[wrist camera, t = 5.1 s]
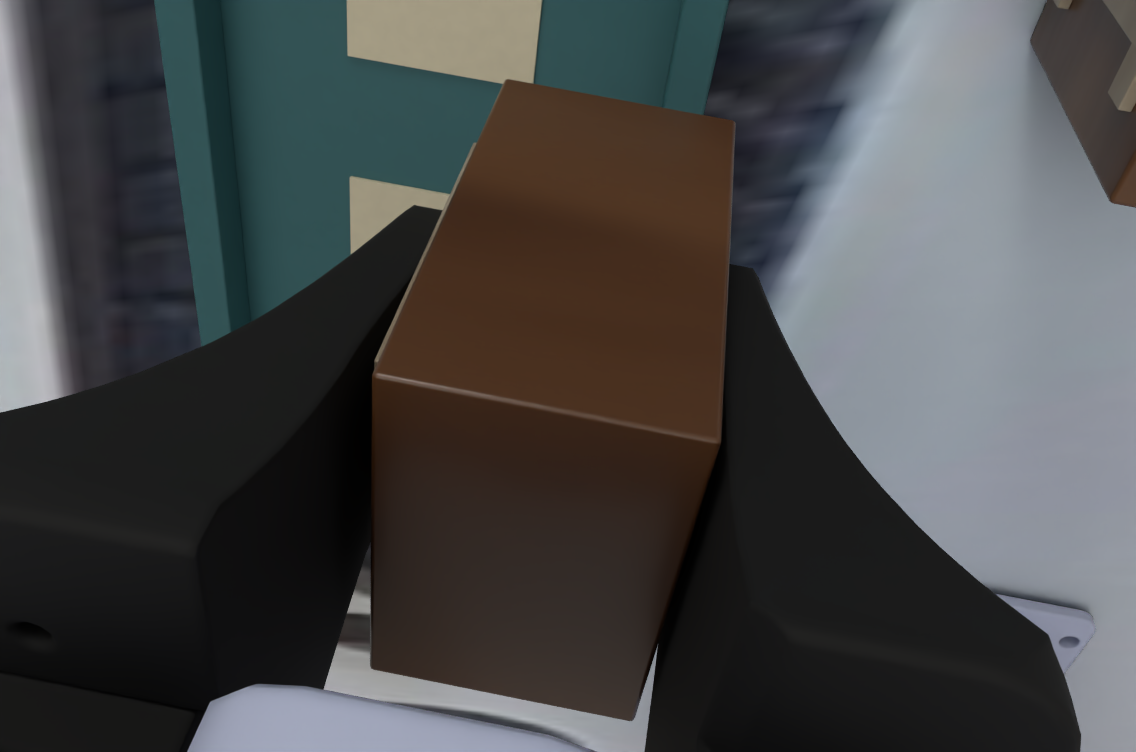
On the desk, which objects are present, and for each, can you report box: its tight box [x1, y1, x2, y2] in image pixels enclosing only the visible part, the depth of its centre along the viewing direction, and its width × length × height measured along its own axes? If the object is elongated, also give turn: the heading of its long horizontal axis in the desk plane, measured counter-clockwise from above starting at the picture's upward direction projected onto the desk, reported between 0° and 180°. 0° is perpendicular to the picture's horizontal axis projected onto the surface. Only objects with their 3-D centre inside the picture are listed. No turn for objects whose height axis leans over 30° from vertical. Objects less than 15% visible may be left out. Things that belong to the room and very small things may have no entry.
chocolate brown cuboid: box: [370, 79, 736, 721], centre depth 12 cm, size 4×3×6 cm
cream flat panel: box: [347, 0, 543, 254], centre depth 22 cm, size 13×4×1 cm, turn 173°
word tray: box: [154, 0, 729, 346], centre depth 22 cm, size 18×11×2 cm, turn 173°
